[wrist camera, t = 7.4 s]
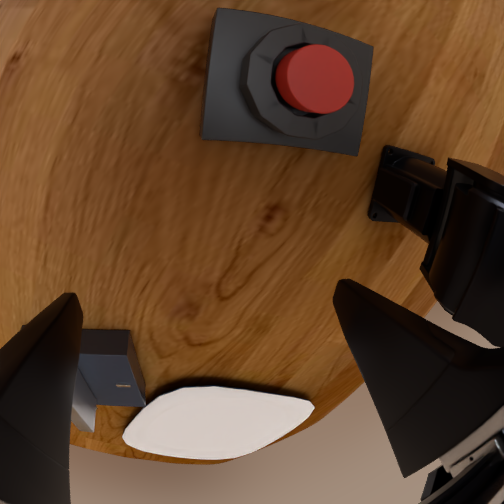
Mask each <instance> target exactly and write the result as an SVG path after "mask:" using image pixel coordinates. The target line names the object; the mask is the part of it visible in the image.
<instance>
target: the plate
mask: <svg viewBox="0 0 504 504" xmlns="http://www.w3.org/2000/svg"><path fill="white" fill-rule="evenodd" d="M314 408H315V407H314V406H313V404H312V403H311V402H310V401H309V400H306V399H302V398H298V397H294V396H287V395H281V394H275V393H268V392H262V391H255V390H249V389H244V388H234V387H225V386H217V385H207V386H183V387H180V388H178V389H175V390H172V391H169V392H167V393H164V394H161V395H159V396H157V397H156V398H155V399H154V400H152V401H151V402H150V403H149V404H147V405H146V406H145V407H144V408H143V409H142V410H141V411H140V412H139V413H138V414H137V415H136V416H135V417H134V419H133V420H132V421H131V422H130V423H129V425H128V426H127V427H126V429H125V431H124V433H123V436H122V438H123V439H124V441H125V442H126V444H127V445H129V446H132V447H134V448H136V449H139V450H141V451H145V452H150V453H155V454H159V455H166V456H173V457H181V458H191V459H228V458H236V457H239V456H243V455H246V454H249V453H252V452H254V451H256V450H258V449H260V448H262V447H264V446H266V445H268V444H270V443H272V442H273V441H275V440H277V439H278V438H280V437H282V436H283V435H285V434H286V433H288V432H290V431H291V430H293V429H294V428H295V427H297V426H298V425H299V424H301V423H302V422H303V421H305V420H306V419H307V418H308V417H309V415H310V414H311V413H312V411H313V410H314Z"/></svg>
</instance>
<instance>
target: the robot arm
mask: <svg viewBox="0 0 504 504" xmlns="http://www.w3.org/2000/svg"><path fill="white" fill-rule="evenodd" d="M389 149H390V152H389V153H388V151H389ZM447 165H448V168H447V171H445V170H443V169H441V168H439V167H436V166H435V161H434V159H432V158H430V157H427V156H424V155H421V154H418V153H414V152H411V151H408V150H405V149H401V148H398V147H395V146H391V145H386V146H385V147H384V148H383V152H382V157H381V162H380V166H379V171H378V175H377V179H376V184H375V188H374V192H373V196H372V200H371V204H370V207H369V211H368V218H369V219H371V220H372V221H383V222H400V223H401V224H402V225H404V226H405V227H407V228H408V229H409V230H411V231H412V232H413V233H415V234H416V235H418V236H419V237H420V238H422V239H423V240H424V241H425V242H427V243H428V244H429V245H428V248H427V251H426V254H425V257H424V260H423V262H422V263H421V266H420V270H421V272H422V274H423V275H424V277H425V279H426V280H427V282H428V284H429V285H430V287H431V289H432V291H433V292H434V296H435V298H436V300H437V301H438V302H439V303H440V304H441V306H442V307H443V308H444V310H445V311H447V312H448V313H449V314H451V315H453V317H452V319H453V320H454V321H456V322H459V323H462V324H465V325H467V326H469V327H471V328H472V329H474V330H476V331H477V332H478V333H480V334H481V335H482V336H483V337H484V338H486V339H487V340H488V341H489V342H490V343H491V344H492V345H494V346H497V347H501V348H495V349H488V348H483V347H480V346H478V345H476V344H474V343H472V342H469V341H467V340H465V339H463V338H461V337H459V336H457V335H454V334H453V333H450V332H448V331H447V330H445V329H442V328H441V327H439V326H437V325H435V324H433V323H432V322H430V321H428V320H427V321H426V319H424V318H422V317H421V316H419V315H417V314H415V313H413V312H411V311H409V310H408V309H406V308H404V307H402V306H400V305H398V304H397V303H395V302H393V301H391V300H389V299H387V298H385V297H383V296H382V295H380V294H378V293H376V292H374V291H372V290H370V289H368V288H367V287H365V286H363V285H361V284H359V283H357V282H355V281H353V280H351V279H341V280H339V281H338V283H337V286H336V289H335V293H334V296H333V305H334V308H335V310H336V313H337V316H338V319H339V322H340V325H341V328H342V331H343V333H344V336H345V339H346V341H347V343H348V345H349V348H350V350H351V352H352V354H353V356H354V358H355V361H356V363H357V365H358V367H359V370H360V372H361V374H362V376H363V379H364V381H365V383H366V385H367V388H368V390H369V392H370V395H371V397H372V399H373V402H374V404H375V406H376V409H377V411H378V414H379V416H380V418H381V421H382V423H383V426H384V428H385V431H386V433H387V436H388V439H389V441H390V444H391V446H392V449H393V451H394V454H395V457H396V459H397V462H398V465H399V467H400V470H401V473H402V475H403V477H404V478H406V477H408V476H410V475H411V474H413V473H415V472H417V471H418V470H420V469H422V468H423V467H425V466H427V465H428V464H430V463H431V462H433V461H435V460H436V459H438V458H439V459H440V461H441V463H442V465H440V466H439V467H438V468H436V469H435V470H433V471H432V472H430V473H429V474H428V477H427V481H426V484H425V487H424V491H423V494H422V497H421V501H422V502H420V503H419V504H504V176H503V175H501V174H499V173H497V172H495V171H493V170H491V169H488V168H486V167H484V166H481V165H479V164H475V163H471V162H467V161H462V160H458V159H453V158H448V160H447ZM374 213H375V214H374ZM373 214H374V216H373ZM82 324H83V312H82V309H81V306H80V303H79V300H78V297H77V295H76V294H75V293H63V294H62V295H61V296H60V297H58V298H57V299H56V300H55V301H54V302H52V303H51V304H50V305H49V306H48V307H46V308H45V309H44V310H43V311H42V312H40V313H39V314H38V315H37V316H36V317H35V318H34V319H32V320H31V321H30V322H29V323H28V324H27V325H26V326H25V327H23V328H22V329H21V330H20V331H19V332H18V333H17V334H16V335H15V336H14V337H12V338H11V339H10V340H9V341H8V342H7V343H6V344H5V345H4V346H3V347H2V348H1V349H0V504H71V502H70V483H69V470H68V469H69V443H70V426H71V414H72V404H73V396H74V388H75V381H76V374H77V368H78V362H79V355H80V344H81V333H82Z"/></svg>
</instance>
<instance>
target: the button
mask: <svg viewBox="0 0 504 504" xmlns="http://www.w3.org/2000/svg"><path fill="white" fill-rule="evenodd" d="M275 81H276V86H277V89H278V91H279V93H280V95H281V97H282V98H283V99H284V100H285V101H286V102H287V103H288V104H289V105H290V106H292V107H293V108H295V109H298V110H300V111H305V112H312V113H320V114H328V113H333V112H335V111H338V110H339V109H341V108H342V107H343V106H345V105H346V104H347V102H348V101H349V99H350V98H351V96H352V93H353V89H354V76H353V72H352V69H351V67H350V65H349V63H348V62H347V60H346V59H345V58H344V57H343V56H342V55H341V54H340V53H339V52H338V51H336V50H335V49H333V48H331V47H328V46H325V45H319V44H312V45H307V46H304V47H302V48H299V49H297V50H294V51H292V52H290V53H288V54H287V55H285V56H284V57H283V58H282V59H281V61H280V62H279V64H278V66H277V69H276V74H275Z"/></svg>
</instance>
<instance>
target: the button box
mask: <svg viewBox="0 0 504 504" xmlns="http://www.w3.org/2000/svg"><path fill="white" fill-rule="evenodd" d="M312 44H319V45H325V46H328V47H331V48H333V49H335V50H336V51H338V52H339V53H340V54H341V55H342V56H343V57H344V58H345V59H346V60H347V62H348V63H349V65H350V67H351V69H352V72H353V76H354V89H353V93H352V96H351V98H350V99H349V101H348V102H347V104H346V105H345V106H343V107H342V108H341V109H339V110H338V111H335V112H333V113H328V114H320V113H312V112H305V111H300V110H298V109H295V108H293V107H292V106H290V105H289V104H288V103H287V102H286V101H285V100H284V99H283V98H282V97H281V95H280V93H279V91H278V89H277V86H276V81H275V74H276V69H277V66H278V64H279V62H280V61H281V59H282V58H283V57H284V56H285V55H287V54H288V53H290V52H292V51H294V50H297V49H299V48H302V47H304V46H307V45H312ZM372 57H373V46H370V45H368V44H366V43H363V42H361V41H358V40H356V39H353V38H350V37H348V36H345V35H342V34H339V33H336V32H333V31H330V30H327V29H324V28H321V27H317V26H314V25H310V24H307V23H303V22H299V21H295V20H291V19H287V18H282V17H278V16H273V15H268V14H262V13H256V12H250V11H243V10H235V9H226V8H217V10H216V12H215V15H214V17H213V21H212V28H211V34H210V41H209V49H208V56H207V64H206V73H205V81H204V91H203V101H202V111H201V123H200V137H201V139H202V140H220V141H238V142H252V143H264V144H275V145H284V146H293V147H301V148H308V149H315V150H322V151H329V152H335V153H341V154H346V155H352V156H358V152H359V146H360V141H361V136H362V130H363V124H364V118H365V112H366V105H367V98H368V91H369V83H370V75H371V67H372Z"/></svg>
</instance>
